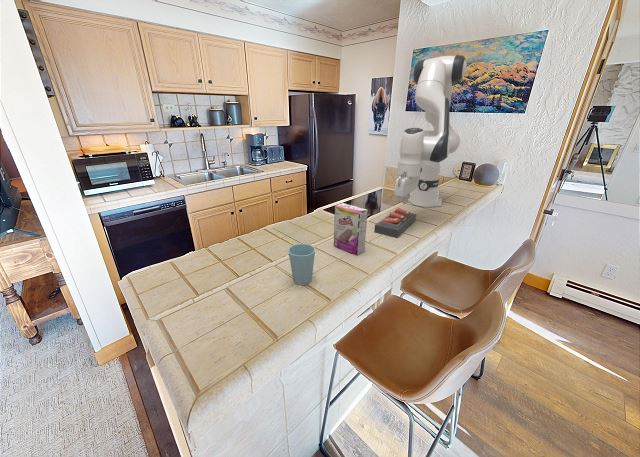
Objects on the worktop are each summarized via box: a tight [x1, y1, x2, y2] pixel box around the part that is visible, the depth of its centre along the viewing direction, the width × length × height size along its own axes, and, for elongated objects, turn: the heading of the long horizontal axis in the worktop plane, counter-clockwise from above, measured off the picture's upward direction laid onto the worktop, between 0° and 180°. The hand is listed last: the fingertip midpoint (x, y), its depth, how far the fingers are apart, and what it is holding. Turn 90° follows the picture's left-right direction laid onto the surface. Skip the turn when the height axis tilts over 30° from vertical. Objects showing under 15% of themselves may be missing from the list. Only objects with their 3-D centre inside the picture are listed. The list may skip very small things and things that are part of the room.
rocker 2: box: [389, 211, 405, 220], centre depth 118 cm, size 3×6×1 cm, turn 54°
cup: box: [287, 243, 316, 286], centre depth 78 cm, size 8×8×10 cm
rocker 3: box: [394, 207, 411, 215], centre depth 123 cm, size 3×6×1 cm, turn 54°
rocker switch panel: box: [373, 210, 417, 239], centre depth 120 cm, size 28×10×4 cm, turn 144°
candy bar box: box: [333, 202, 369, 256], centre depth 96 cm, size 11×5×16 cm, turn 47°
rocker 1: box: [383, 218, 399, 223], centre depth 113 cm, size 3×6×1 cm, turn 54°
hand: (404, 202), depth 114 cm, fingers closed
